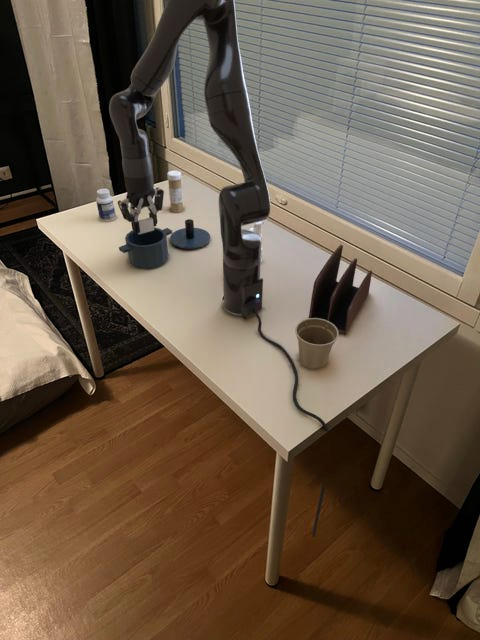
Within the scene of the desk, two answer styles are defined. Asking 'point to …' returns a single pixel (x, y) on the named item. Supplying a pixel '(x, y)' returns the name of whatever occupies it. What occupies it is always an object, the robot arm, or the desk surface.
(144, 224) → the eraser
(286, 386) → the desk surface
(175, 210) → the sprinkles bottle
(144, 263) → the pot
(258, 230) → the koala figurine
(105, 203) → the pill bottle
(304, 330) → the flower pot
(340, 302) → the letter holder
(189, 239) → the lid
